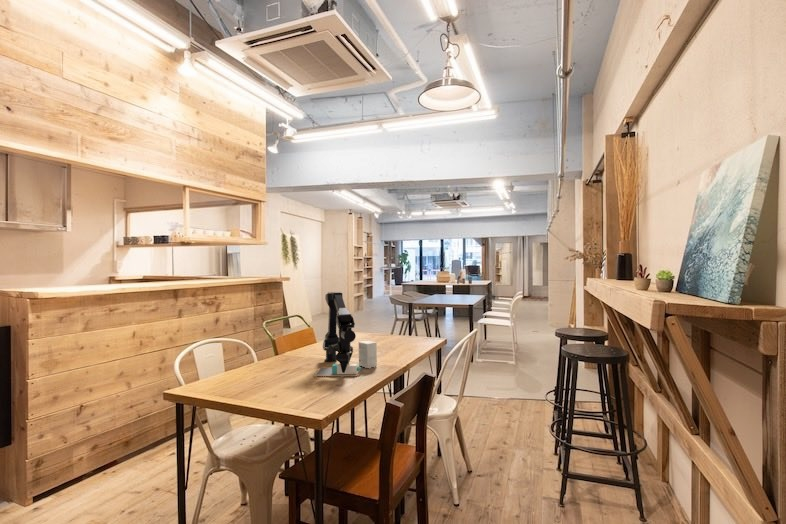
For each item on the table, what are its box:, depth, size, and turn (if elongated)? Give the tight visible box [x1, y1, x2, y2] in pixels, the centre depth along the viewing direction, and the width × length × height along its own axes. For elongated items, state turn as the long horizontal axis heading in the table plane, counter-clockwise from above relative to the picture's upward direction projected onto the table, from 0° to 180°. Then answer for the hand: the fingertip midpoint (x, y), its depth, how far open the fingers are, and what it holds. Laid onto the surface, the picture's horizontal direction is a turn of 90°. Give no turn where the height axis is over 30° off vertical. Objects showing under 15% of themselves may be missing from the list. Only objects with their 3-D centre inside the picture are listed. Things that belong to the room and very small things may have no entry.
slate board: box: [313, 366, 360, 378], centre depth 214 cm, size 15×21×1 cm
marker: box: [331, 363, 362, 374], centre depth 211 cm, size 4×14×4 cm, turn 88°
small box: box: [358, 340, 378, 369], centre depth 225 cm, size 8×6×13 cm
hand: (344, 370), depth 211 cm, fingers open, 9 cm apart
